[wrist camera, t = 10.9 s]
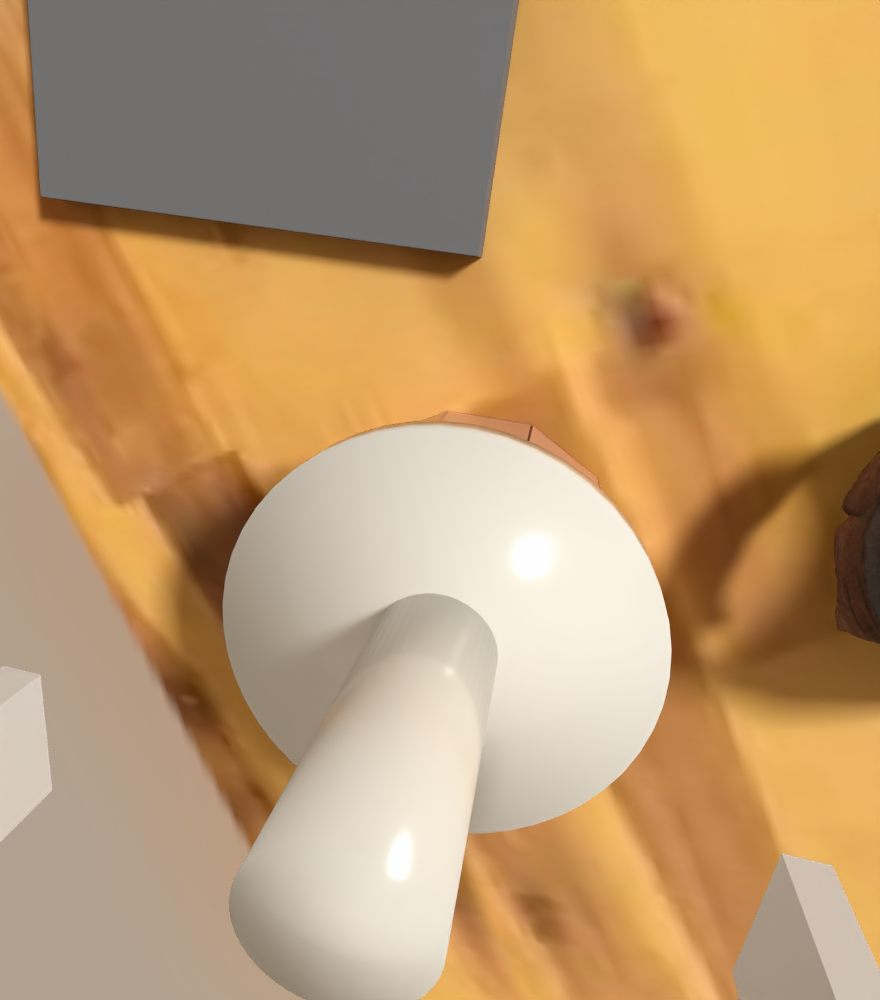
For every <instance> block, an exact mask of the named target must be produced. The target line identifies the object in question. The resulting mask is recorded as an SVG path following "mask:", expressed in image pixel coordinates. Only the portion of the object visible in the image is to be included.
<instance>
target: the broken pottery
mask: <svg viewBox="0 0 880 1000" xmlns="http://www.w3.org/2000/svg"><path fill="white" fill-rule="evenodd" d="M842 508H843V510H844V511H845V513H846V514H848V515H849V518H848V519H847V520H846V521H845V522H844V523H842V524H841V525H840V526H839V527H838V528H837V530H836V532H835V541H834V559H835V566H836V568H835V571H836V576H837V607H836V610H835V615H836V626H837V628H838V629H839V630H840V631H845V632H848V633H850V634H852V635H854V636H856V637H859V638H862V639H865V640H868V641H872V642H876V643H880V452H879V453H878V454H877V455H876V456H875V457H874V458H873V459H872V460H871V462H870V463H869V464H868V465H867V466H866V467H865V469H864V470H863V471H862V473H861V474H860V476H859V477H858V479H857V481H856V482H855V483H854V485H853V487H852V488H851V490H850V491H849V492H848V494H847V496H846V498H845V499H844V501H843V506H842Z"/></svg>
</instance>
